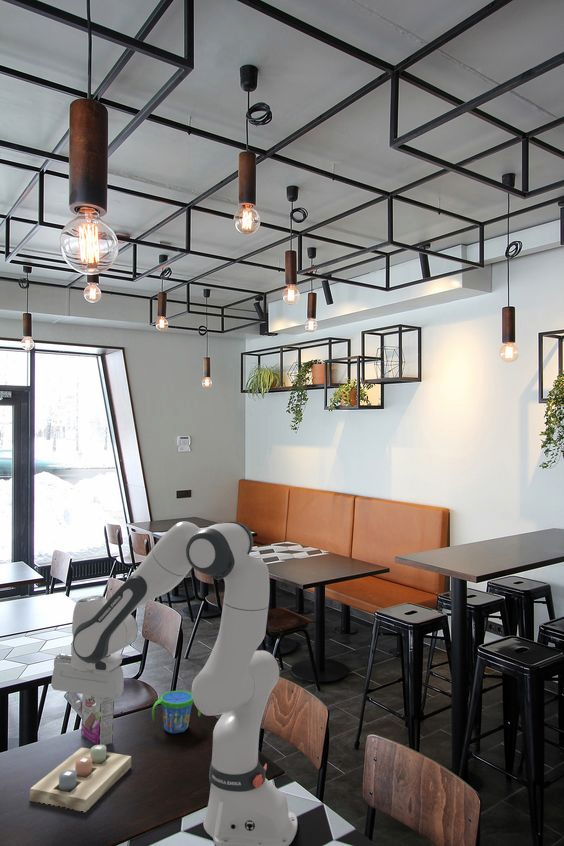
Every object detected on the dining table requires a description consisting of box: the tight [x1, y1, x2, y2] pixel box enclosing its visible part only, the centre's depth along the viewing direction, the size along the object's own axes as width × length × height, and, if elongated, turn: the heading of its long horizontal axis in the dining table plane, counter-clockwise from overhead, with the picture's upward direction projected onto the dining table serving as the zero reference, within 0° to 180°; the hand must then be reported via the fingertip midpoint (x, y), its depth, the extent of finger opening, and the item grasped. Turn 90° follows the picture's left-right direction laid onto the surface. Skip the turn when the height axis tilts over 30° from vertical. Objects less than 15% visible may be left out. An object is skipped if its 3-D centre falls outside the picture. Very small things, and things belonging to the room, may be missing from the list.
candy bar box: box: [80, 694, 115, 747], centre depth 183 cm, size 11×5×16 cm, turn 47°
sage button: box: [90, 744, 107, 765], centre depth 166 cm, size 4×4×4 cm
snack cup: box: [151, 690, 202, 734], centre depth 191 cm, size 16×10×10 cm
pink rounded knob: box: [75, 757, 92, 778], centre depth 159 cm, size 4×4×4 cm
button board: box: [29, 747, 132, 813], centre depth 159 cm, size 16×22×3 cm
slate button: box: [59, 770, 77, 792], centre depth 152 cm, size 4×4×4 cm
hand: (86, 709), depth 160 cm, fingers open, 5 cm apart
